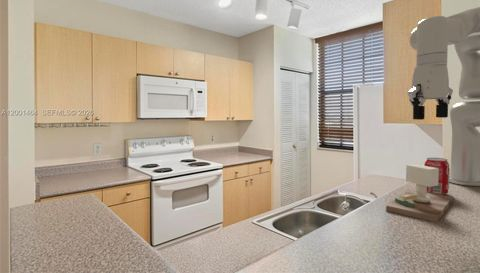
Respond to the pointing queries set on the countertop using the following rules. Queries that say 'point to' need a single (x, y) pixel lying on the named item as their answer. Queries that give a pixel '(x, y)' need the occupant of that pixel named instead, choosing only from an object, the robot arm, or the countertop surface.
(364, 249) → the countertop surface
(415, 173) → the knob
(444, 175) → the soda can
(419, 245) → the countertop surface
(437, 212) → the dial board
